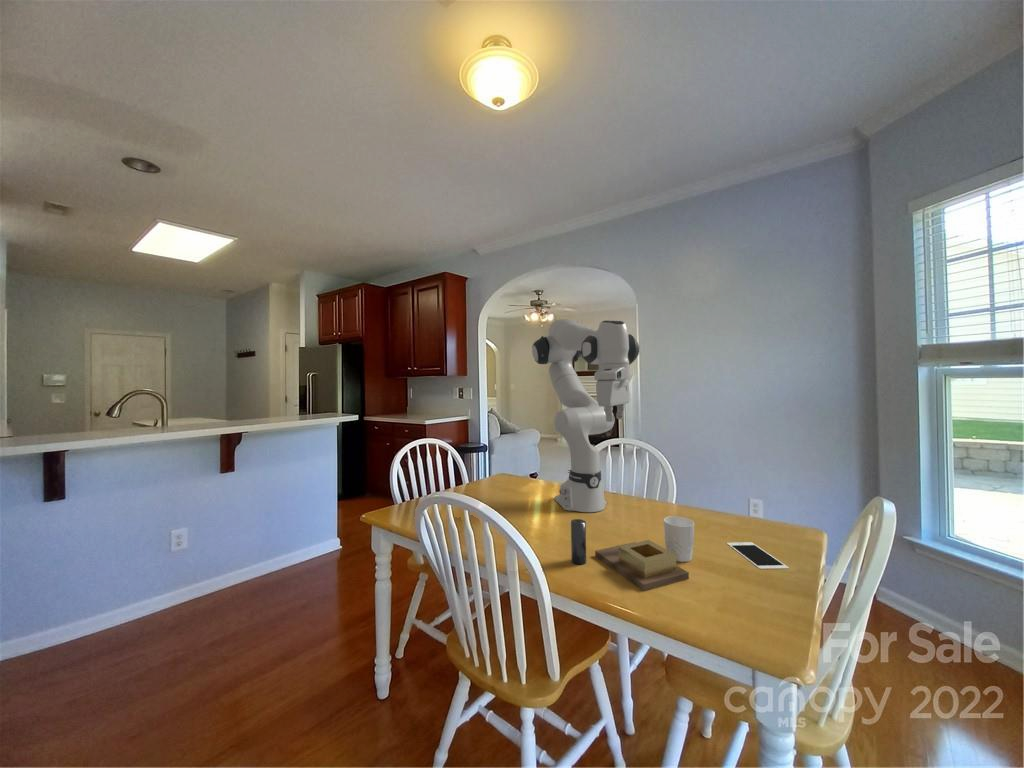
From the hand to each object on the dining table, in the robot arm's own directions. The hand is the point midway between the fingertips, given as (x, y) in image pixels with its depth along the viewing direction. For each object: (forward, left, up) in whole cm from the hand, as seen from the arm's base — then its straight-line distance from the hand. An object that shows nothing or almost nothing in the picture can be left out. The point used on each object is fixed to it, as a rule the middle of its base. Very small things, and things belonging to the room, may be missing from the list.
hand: (615, 420), depth 118 cm
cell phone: (+21, +31, -38) cm, 54 cm away
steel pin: (+4, -16, -38) cm, 41 cm away
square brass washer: (+16, -3, -36) cm, 40 cm away
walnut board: (+13, -3, -38) cm, 40 cm away
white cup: (+13, +11, -38) cm, 42 cm away
